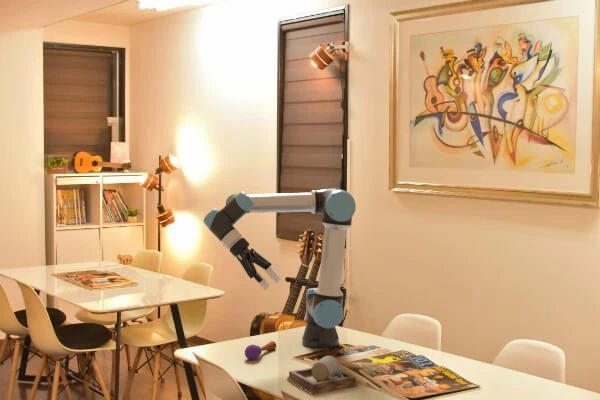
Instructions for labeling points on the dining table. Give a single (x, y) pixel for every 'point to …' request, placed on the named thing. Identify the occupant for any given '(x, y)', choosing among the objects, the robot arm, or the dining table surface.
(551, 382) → the dining table surface
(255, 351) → the purple maraca
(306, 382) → the brown wooden tray
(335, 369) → the ceramic mug
